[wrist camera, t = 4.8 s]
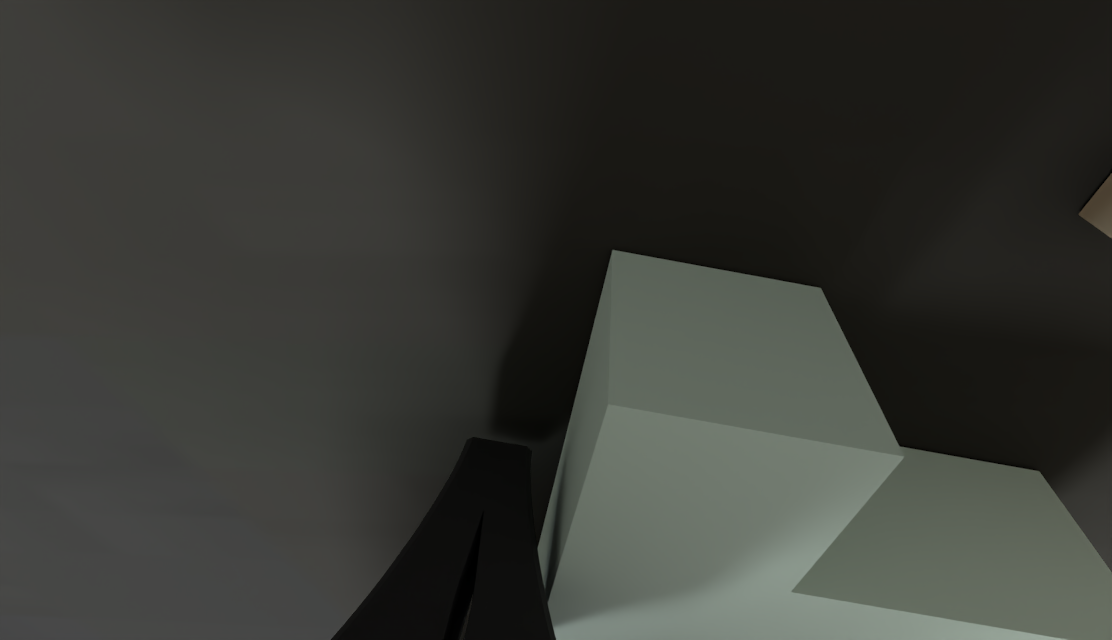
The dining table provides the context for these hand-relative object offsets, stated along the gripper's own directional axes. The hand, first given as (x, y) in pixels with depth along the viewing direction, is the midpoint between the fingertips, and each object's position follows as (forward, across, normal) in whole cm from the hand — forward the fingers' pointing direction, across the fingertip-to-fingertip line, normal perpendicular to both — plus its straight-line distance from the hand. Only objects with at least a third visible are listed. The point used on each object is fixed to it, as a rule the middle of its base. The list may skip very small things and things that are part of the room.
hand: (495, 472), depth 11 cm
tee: (+1, -6, 0) cm, 6 cm away
